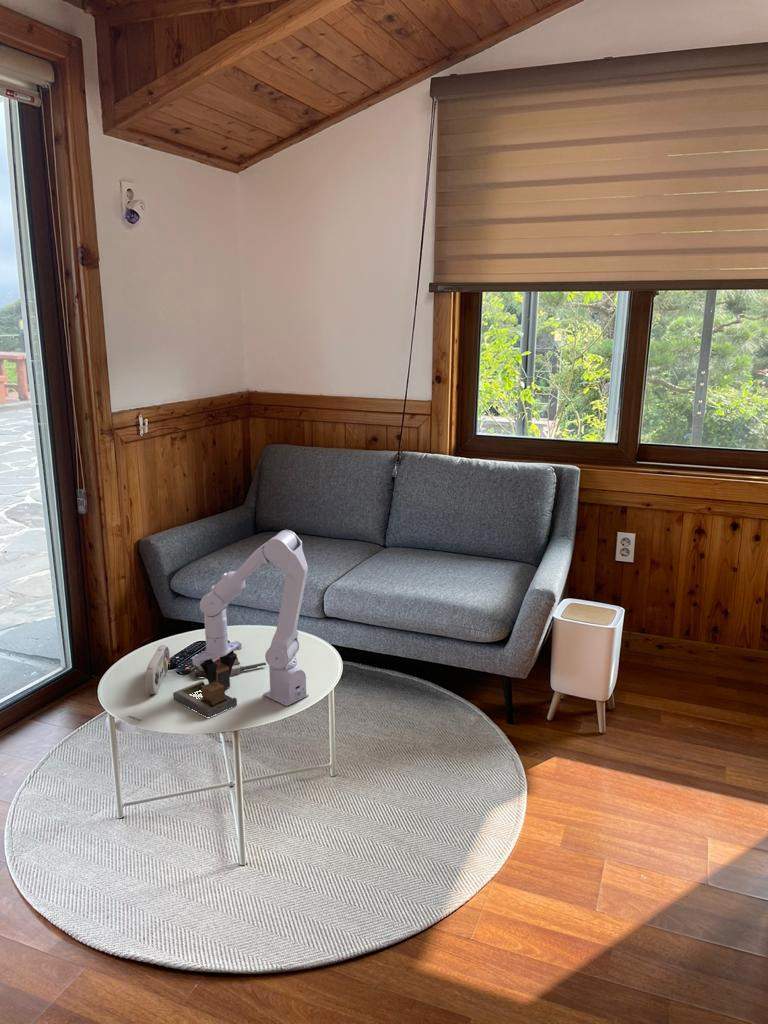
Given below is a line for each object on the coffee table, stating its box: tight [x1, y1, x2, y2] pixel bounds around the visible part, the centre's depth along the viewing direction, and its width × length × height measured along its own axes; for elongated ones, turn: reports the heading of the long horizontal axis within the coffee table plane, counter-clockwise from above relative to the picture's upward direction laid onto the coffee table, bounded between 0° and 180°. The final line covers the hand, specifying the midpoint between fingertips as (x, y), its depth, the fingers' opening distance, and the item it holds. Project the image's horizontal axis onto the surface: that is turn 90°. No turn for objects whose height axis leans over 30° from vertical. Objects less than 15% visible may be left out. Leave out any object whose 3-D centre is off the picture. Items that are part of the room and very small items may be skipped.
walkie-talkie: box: [194, 657, 267, 678], centre depth 218 cm, size 9×4×20 cm
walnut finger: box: [216, 662, 231, 690], centre depth 207 cm, size 5×4×6 cm
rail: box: [172, 680, 238, 718], centre depth 199 cm, size 15×9×6 cm, turn 48°
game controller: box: [144, 644, 171, 695], centre depth 210 cm, size 20×2×8 cm, turn 3°
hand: (219, 681), depth 207 cm, fingers closed on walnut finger, 4 cm apart
